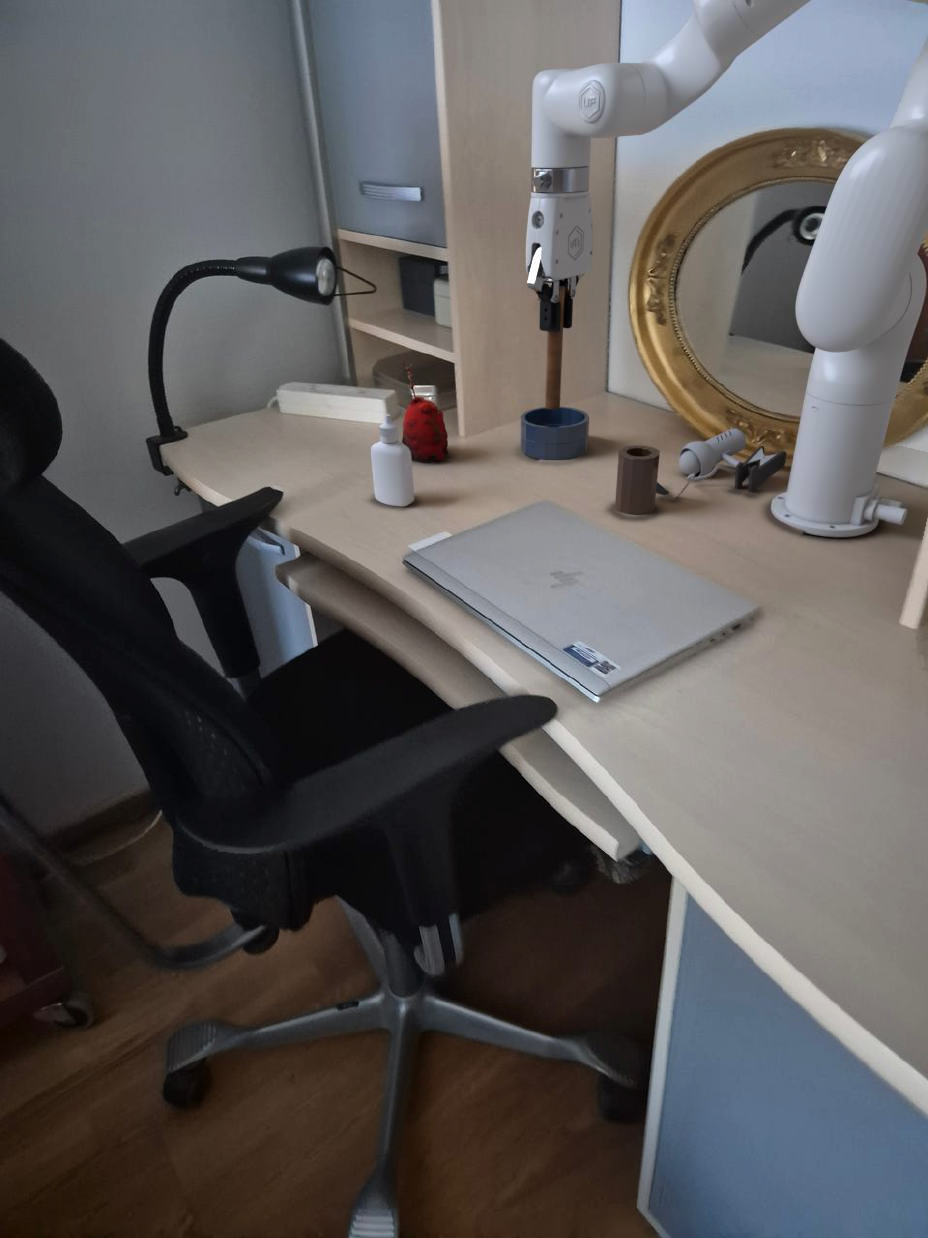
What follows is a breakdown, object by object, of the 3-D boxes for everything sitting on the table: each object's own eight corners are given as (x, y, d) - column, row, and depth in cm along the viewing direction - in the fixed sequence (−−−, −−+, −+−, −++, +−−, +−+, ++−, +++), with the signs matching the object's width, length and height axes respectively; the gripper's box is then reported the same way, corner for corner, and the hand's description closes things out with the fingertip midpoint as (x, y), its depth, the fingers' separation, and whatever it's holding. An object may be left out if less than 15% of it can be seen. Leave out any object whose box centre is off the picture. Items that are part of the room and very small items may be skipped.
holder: (660, 508, 106) (666, 450, 101) (641, 522, 102) (646, 462, 98) (627, 499, 108) (631, 442, 104) (607, 512, 105) (611, 453, 101)
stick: (562, 406, 122) (568, 286, 112) (554, 410, 120) (559, 289, 111) (550, 404, 123) (554, 284, 114) (542, 407, 121) (545, 287, 112)
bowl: (600, 448, 125) (602, 413, 122) (562, 468, 119) (563, 432, 116) (546, 435, 131) (546, 402, 128) (507, 454, 124) (506, 419, 121)
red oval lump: (455, 460, 123) (451, 360, 115) (411, 468, 121) (404, 367, 113) (438, 445, 129) (433, 349, 121) (396, 452, 127) (388, 355, 119)
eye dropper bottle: (401, 490, 114) (394, 406, 108) (417, 504, 110) (411, 417, 103) (372, 497, 112) (363, 412, 106) (388, 511, 108) (380, 423, 102)
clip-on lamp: (686, 533, 106) (791, 477, 110) (686, 493, 102) (795, 436, 106) (630, 495, 114) (730, 444, 118) (628, 456, 110) (731, 405, 114)
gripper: (548, 188, 98) (544, 344, 108) (616, 178, 108) (608, 321, 118) (499, 187, 102) (500, 336, 112) (570, 177, 113) (565, 315, 122)
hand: (555, 327), depth 115 cm, fingers closed on stick, 2 cm apart
